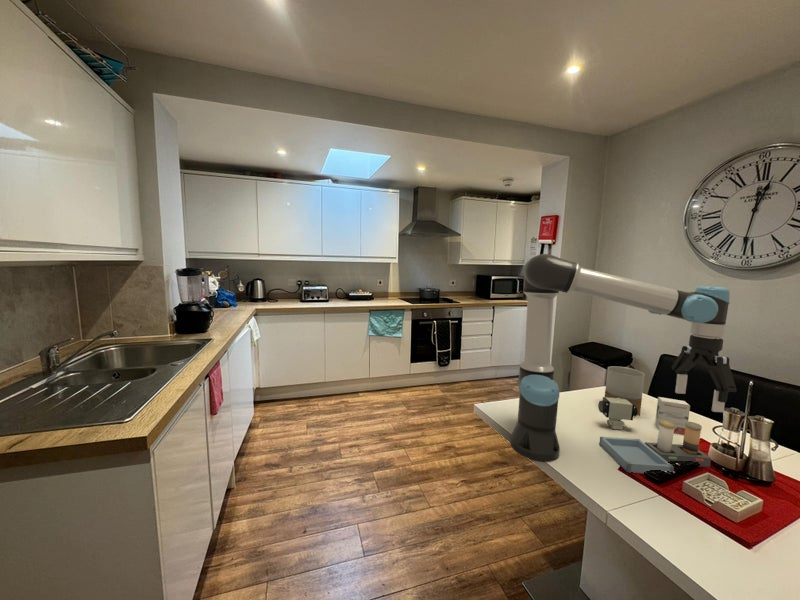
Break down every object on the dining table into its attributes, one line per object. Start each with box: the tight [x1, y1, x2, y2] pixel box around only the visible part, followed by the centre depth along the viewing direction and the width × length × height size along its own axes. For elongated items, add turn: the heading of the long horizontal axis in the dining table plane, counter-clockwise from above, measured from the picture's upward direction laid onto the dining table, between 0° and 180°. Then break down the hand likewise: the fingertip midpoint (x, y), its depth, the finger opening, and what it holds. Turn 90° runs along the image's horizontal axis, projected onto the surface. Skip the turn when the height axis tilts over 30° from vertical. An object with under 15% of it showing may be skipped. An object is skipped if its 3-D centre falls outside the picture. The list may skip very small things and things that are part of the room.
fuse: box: [656, 420, 675, 453], centre depth 102 cm, size 4×4×12 cm
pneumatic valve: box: [597, 396, 638, 431], centre depth 121 cm, size 6×12×12 cm, turn 79°
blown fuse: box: [682, 421, 703, 455], centre depth 102 cm, size 4×4×12 cm
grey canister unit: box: [604, 365, 646, 416], centre depth 136 cm, size 13×13×18 cm
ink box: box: [654, 396, 691, 436], centre depth 121 cm, size 9×5×12 cm, turn 65°
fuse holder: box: [644, 441, 712, 468], centre depth 102 cm, size 15×7×3 cm, turn 86°
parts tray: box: [598, 436, 675, 474], centre depth 101 cm, size 13×15×3 cm
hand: (697, 401), depth 100 cm, fingers open, 13 cm apart
